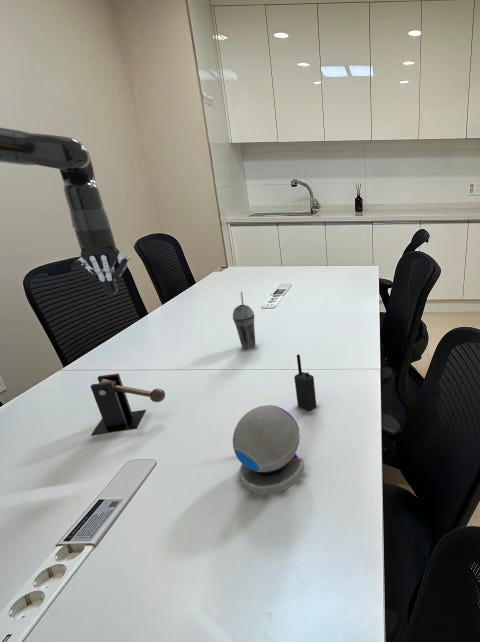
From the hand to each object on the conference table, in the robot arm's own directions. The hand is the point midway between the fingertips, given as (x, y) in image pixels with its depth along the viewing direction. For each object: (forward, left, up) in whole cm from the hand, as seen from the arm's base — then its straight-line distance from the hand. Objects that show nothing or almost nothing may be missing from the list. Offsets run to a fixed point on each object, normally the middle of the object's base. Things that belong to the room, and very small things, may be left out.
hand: (112, 293), depth 103 cm
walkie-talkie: (+47, -24, -29) cm, 60 cm away
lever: (+6, -20, -21) cm, 30 cm away
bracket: (+1, -20, -29) cm, 35 cm away
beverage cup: (+30, +19, -29) cm, 46 cm away
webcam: (+38, -46, -29) cm, 66 cm away
